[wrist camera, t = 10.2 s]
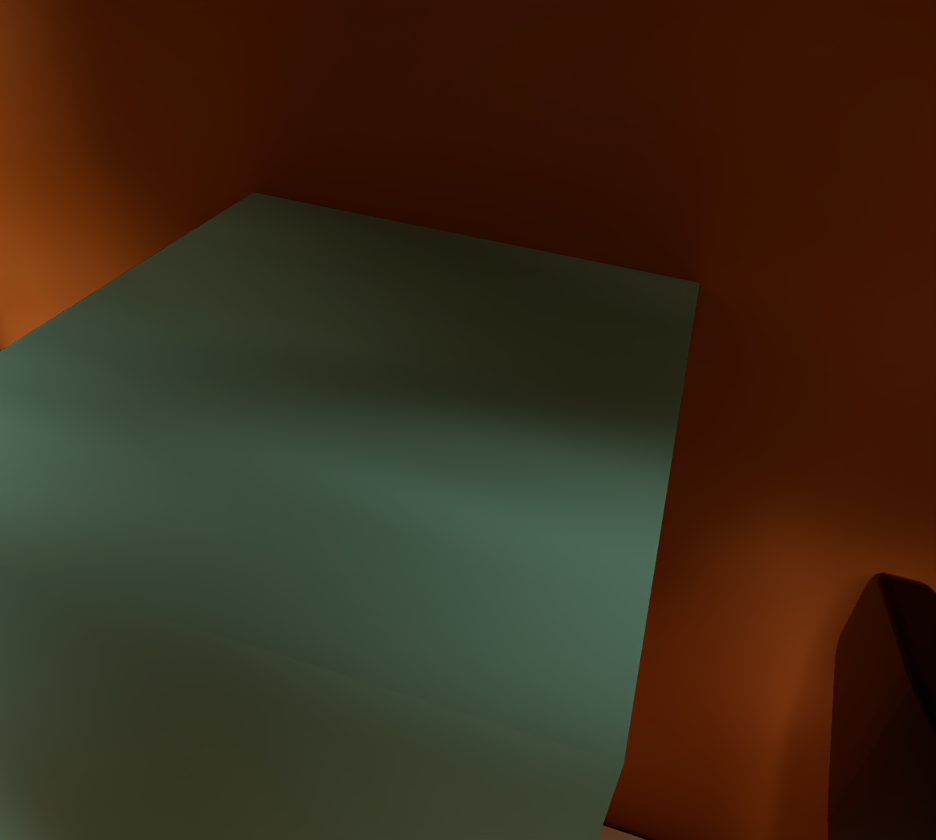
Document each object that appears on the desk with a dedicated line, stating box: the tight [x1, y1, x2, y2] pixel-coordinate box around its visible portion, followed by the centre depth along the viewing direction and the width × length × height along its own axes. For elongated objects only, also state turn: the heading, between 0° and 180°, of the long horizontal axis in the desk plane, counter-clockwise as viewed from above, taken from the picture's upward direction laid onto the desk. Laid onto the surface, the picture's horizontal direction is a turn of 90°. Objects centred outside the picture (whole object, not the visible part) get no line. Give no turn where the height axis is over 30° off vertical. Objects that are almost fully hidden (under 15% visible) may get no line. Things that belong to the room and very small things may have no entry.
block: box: [0, 192, 700, 840], centre depth 7 cm, size 4×4×5 cm
